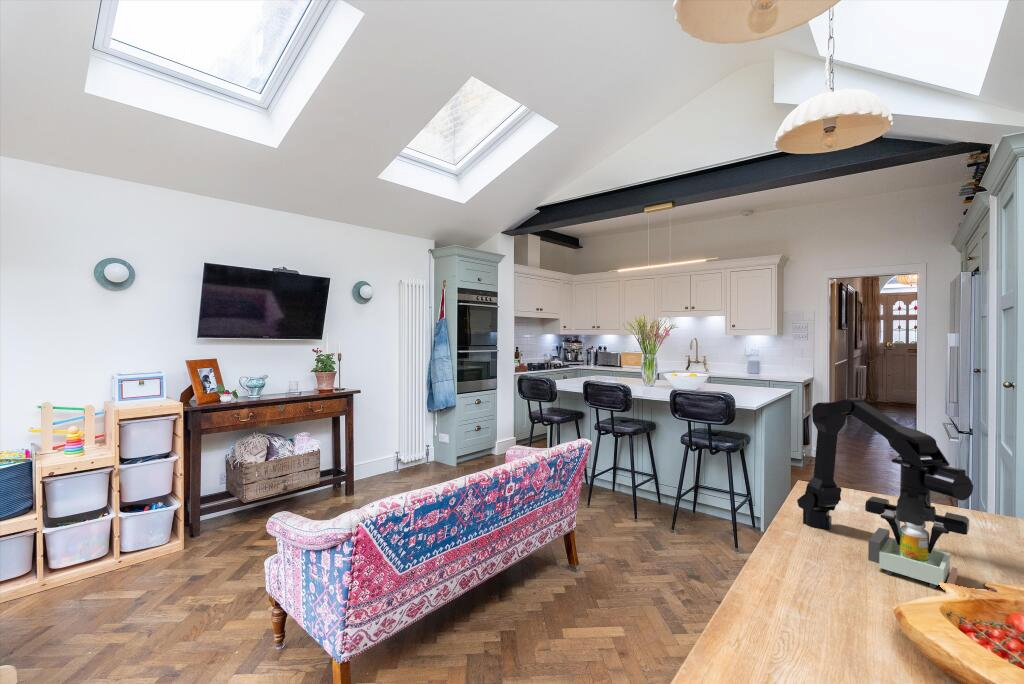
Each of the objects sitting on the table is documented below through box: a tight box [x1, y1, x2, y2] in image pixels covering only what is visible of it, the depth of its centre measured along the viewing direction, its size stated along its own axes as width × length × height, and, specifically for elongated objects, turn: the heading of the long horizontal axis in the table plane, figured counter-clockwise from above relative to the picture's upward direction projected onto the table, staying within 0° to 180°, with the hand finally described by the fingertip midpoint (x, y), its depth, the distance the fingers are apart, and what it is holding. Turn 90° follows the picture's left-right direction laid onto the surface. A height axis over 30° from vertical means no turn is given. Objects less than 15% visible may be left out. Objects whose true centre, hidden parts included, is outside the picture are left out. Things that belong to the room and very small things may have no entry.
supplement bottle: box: [900, 521, 930, 563], centre depth 113 cm, size 5×5×10 cm
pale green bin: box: [867, 527, 951, 590], centre depth 114 cm, size 14×12×7 cm
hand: (914, 548), depth 113 cm, fingers closed on supplement bottle, 5 cm apart
